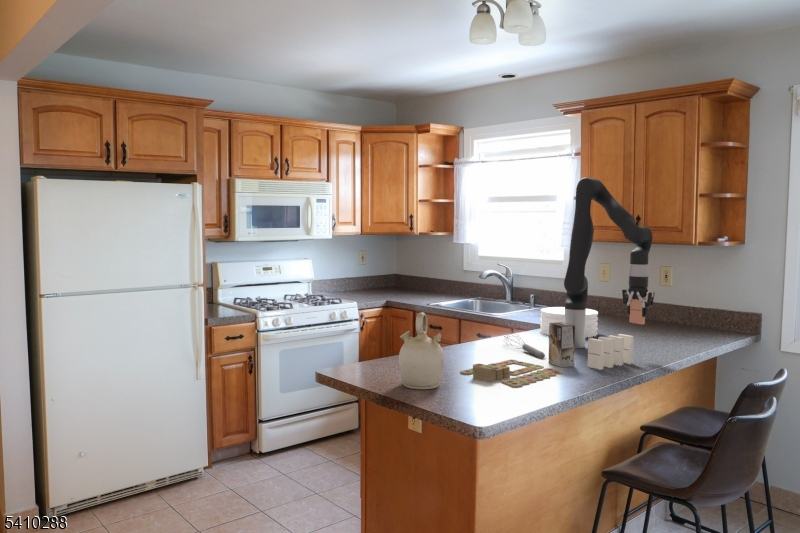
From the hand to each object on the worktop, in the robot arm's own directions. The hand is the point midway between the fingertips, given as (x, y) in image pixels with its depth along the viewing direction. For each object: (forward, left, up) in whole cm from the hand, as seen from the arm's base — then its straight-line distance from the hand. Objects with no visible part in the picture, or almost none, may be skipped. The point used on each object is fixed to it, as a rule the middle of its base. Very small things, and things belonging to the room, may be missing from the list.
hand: (637, 315), depth 264 cm
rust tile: (0, 0, -3) cm, 3 cm away
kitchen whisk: (-44, -9, -18) cm, 49 cm away
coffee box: (-25, -28, -18) cm, 41 cm away
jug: (-61, -83, -18) cm, 104 cm away
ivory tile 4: (-12, -28, -18) cm, 35 cm away
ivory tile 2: (-6, -17, -18) cm, 25 cm away
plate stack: (-36, +47, -18) cm, 62 cm away
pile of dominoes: (-38, -51, -18) cm, 66 cm away
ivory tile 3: (-9, -22, -18) cm, 30 cm away
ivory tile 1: (-3, -12, -18) cm, 22 cm away
